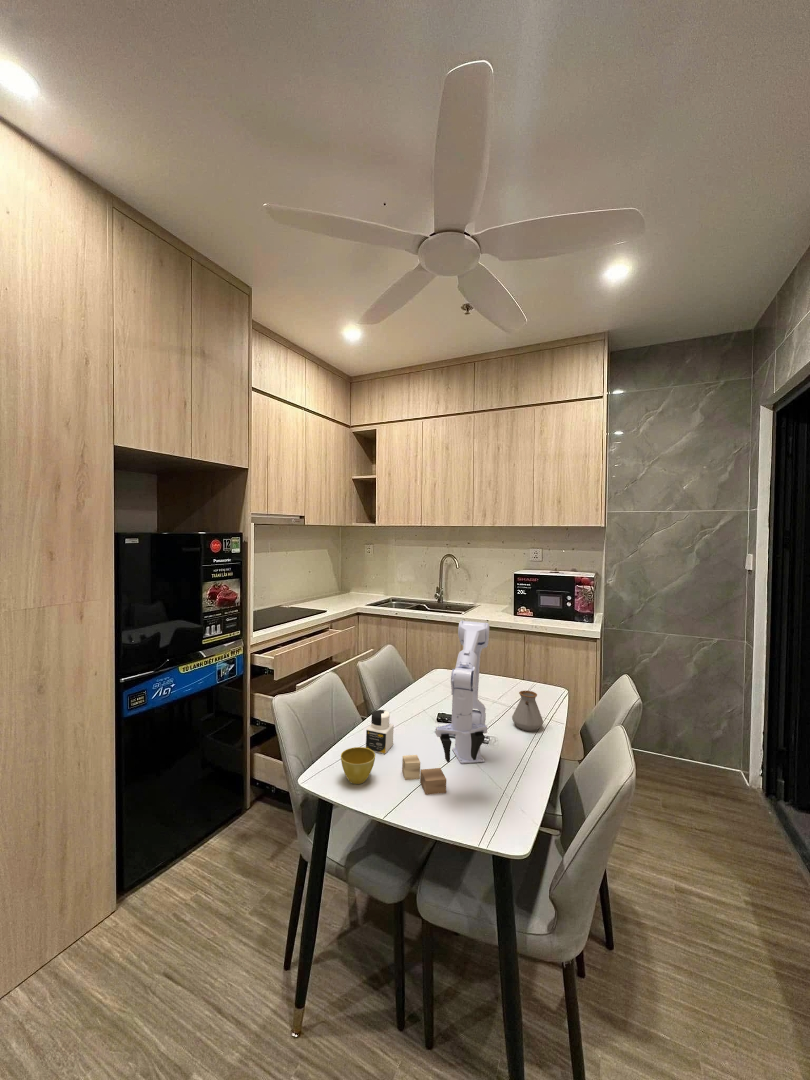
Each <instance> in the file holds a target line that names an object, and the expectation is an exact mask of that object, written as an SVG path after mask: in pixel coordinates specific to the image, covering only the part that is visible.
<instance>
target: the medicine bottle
mask: <svg viewBox="0 0 810 1080" xmlns="http://www.w3.org/2000/svg"><path fill="white" fill-rule="evenodd" d="M370 723H371V724H370V725H369V726H368V727H367V728H366V734H365V735H366V736H365V748H368V749H370V750H372V751H373V752H374V753H378V754H383V755H385V754H387V753H388V751H389V750H390V749H391V748H392V746H393V745H394V724H393V723H390V712H389V711H387V710H384V709H377V710H374V711H373V712H372V713H371V722H370Z"/></svg>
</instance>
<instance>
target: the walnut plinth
mask: <svg viewBox="0 0 810 1080" xmlns="http://www.w3.org/2000/svg"><path fill="white" fill-rule="evenodd" d="M419 781H420V785H421V787H422V790H423V793H424V795H436V794H446V793H447V778H446V776H445V774H444V772H443V770H442V768H441V767H437V768H436V767H435V768H434V767H433V768H423V769H421V768H420V779H419Z"/></svg>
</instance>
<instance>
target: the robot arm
mask: <svg viewBox="0 0 810 1080" xmlns="http://www.w3.org/2000/svg"><path fill="white" fill-rule="evenodd" d="M457 636H458V640H459V642H460V645H461V646H462V647H463V648H462V650H460V651H459V652H458V654H457V658H456V662H455V667H454V668H452V670H451V674H450V687H451V691H450V693H451V696H452V697H451V698H452V699H451V723H448V724H445V725H440V726H436V727H435V735H436V737H437V738H439V739H440V741H441V745H442V748H443V752H444V757H445V758H444V760H445V761H446V763H451V749H452V751H453V753H454V754H455V757H456V758H457V759H458V760H457V761H459V763H460V764H473V763H484V762H485V759H484V757H483V756H482V755H481V746H482V744H483V742H484V741H485V737H486V736H485V735H486V734H488V726H487V725H486V714H487V713H486V706H485V704H483V703H482V702H481V701H480V700H479V698H478V697H479V681H480V667H481V664H480V663H481V654H482V651H483V649H486V648H488V645H489V641H490V640H489V639H490V624H489V623H488V622H479V621H470V620H463V619H462V620H460V621H459V623H458V629H457ZM484 734H485V735H484ZM452 735H453V736H454V735H455V737H454V747H452V748H451V746H452V743H453V741H452V740H451V737H450V736H452Z"/></svg>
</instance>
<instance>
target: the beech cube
mask: <svg viewBox="0 0 810 1080" xmlns="http://www.w3.org/2000/svg"><path fill="white" fill-rule="evenodd" d="M401 762H402V767H401V773H402V776H403V779H404V780H405V781H408V780H409V781H411V780H420V773H421V760H420V758H419V756H418V754H408V755H407V754H406V755H402V761H401Z"/></svg>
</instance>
